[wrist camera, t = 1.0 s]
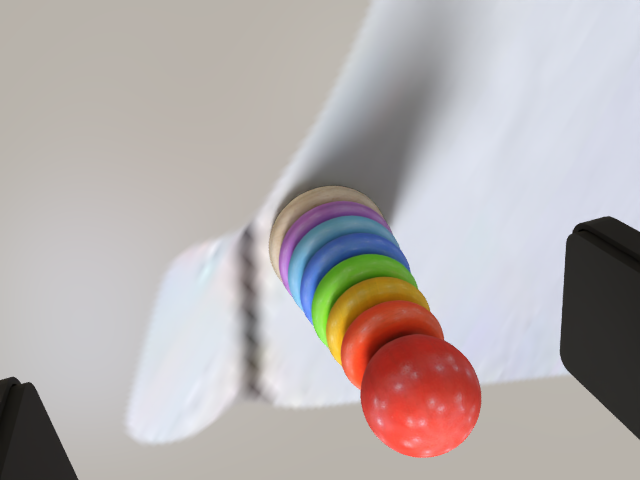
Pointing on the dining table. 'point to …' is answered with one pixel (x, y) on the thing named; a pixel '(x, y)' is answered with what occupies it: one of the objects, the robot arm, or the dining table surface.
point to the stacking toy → (375, 320)
